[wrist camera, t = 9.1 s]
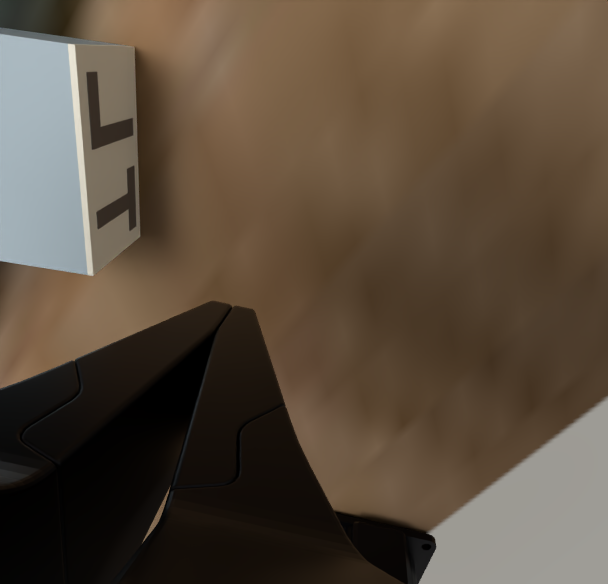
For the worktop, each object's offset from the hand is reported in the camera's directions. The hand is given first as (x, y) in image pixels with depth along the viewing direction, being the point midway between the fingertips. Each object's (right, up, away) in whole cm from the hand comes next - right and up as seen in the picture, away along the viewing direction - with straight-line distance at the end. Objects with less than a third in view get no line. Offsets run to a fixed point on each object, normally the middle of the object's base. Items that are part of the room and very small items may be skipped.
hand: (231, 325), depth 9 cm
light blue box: (-5, +5, +7) cm, 10 cm away
